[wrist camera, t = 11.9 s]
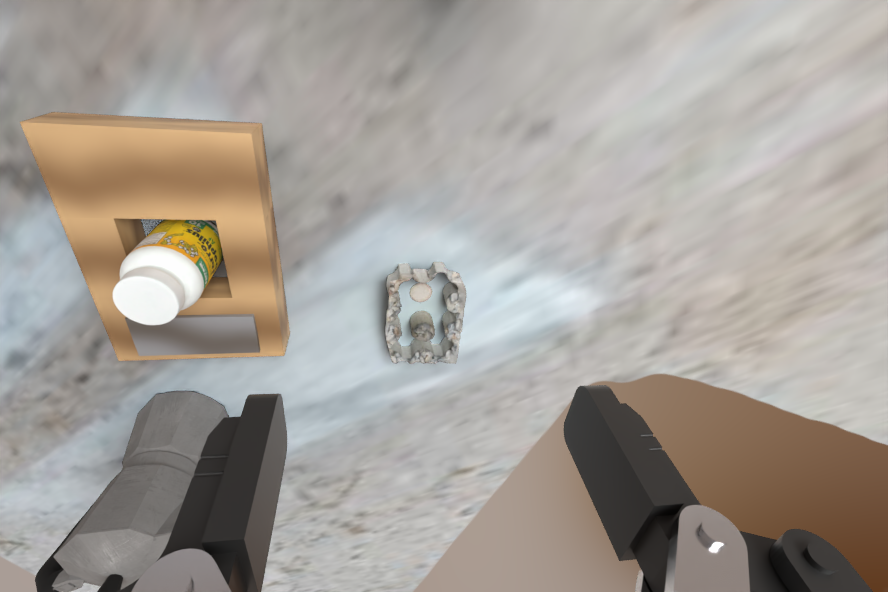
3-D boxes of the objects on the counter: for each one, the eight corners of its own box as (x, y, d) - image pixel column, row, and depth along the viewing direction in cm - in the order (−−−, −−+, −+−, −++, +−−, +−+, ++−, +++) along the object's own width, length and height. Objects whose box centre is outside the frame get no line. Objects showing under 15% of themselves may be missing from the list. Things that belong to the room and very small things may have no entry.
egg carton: (385, 258, 41) (386, 279, 38) (463, 259, 42) (471, 280, 39) (383, 346, 47) (385, 372, 43) (452, 345, 48) (458, 370, 44)
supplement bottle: (143, 225, 36) (78, 284, 28) (201, 201, 35) (152, 254, 27) (186, 277, 39) (139, 343, 31) (240, 255, 38) (206, 317, 30)
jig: (53, 112, 31) (15, 123, 27) (261, 123, 33) (250, 134, 30) (136, 336, 41) (116, 363, 38) (289, 333, 44) (283, 358, 40)
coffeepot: (213, 369, 45) (134, 547, 30) (265, 424, 50) (220, 599, 35) (83, 420, 46) (-56, 616, 31) (147, 469, 51) (55, 657, 36)
